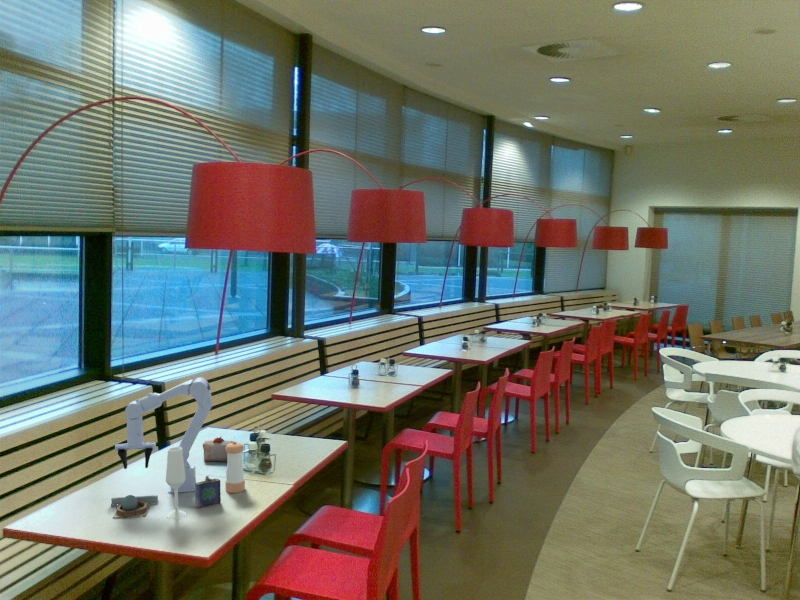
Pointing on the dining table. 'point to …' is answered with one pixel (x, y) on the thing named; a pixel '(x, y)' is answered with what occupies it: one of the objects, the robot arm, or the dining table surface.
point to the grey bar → (146, 499)
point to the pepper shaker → (234, 468)
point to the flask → (207, 493)
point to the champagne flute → (175, 477)
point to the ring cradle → (137, 512)
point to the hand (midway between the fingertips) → (136, 467)
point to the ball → (129, 503)
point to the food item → (215, 450)
